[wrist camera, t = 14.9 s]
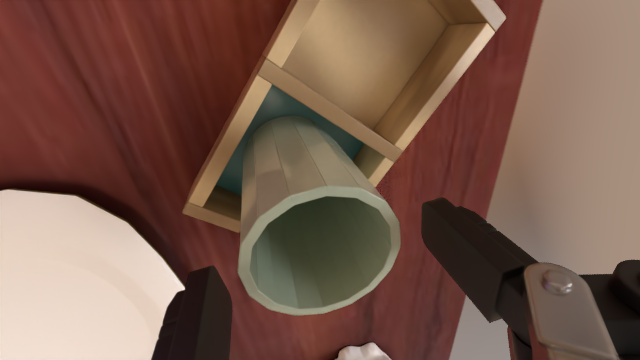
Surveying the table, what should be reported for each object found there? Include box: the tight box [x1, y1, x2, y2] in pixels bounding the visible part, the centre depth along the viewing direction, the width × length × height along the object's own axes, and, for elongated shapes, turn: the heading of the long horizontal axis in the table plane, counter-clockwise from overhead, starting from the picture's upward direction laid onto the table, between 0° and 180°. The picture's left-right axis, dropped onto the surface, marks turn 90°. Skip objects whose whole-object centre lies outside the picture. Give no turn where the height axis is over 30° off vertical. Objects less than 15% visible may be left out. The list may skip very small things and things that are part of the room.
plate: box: [0, 188, 186, 360], centre depth 19 cm, size 22×22×2 cm
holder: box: [182, 0, 506, 233], centre depth 15 cm, size 17×9×3 cm, turn 146°
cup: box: [238, 115, 401, 316], centre depth 14 cm, size 6×6×9 cm
